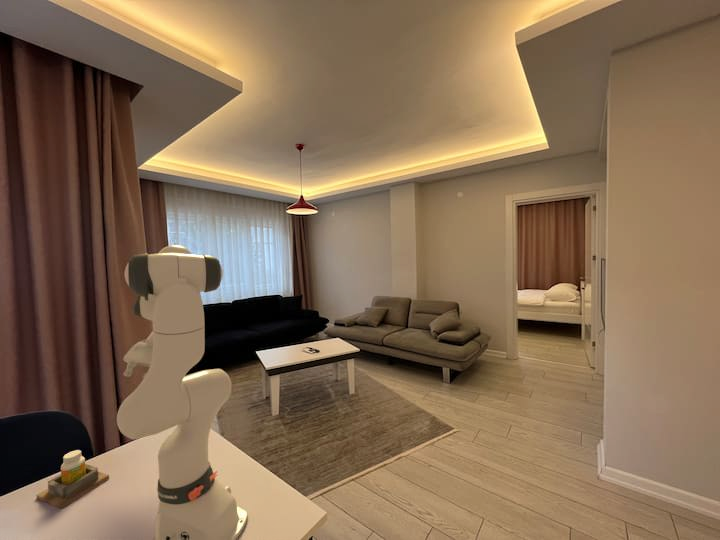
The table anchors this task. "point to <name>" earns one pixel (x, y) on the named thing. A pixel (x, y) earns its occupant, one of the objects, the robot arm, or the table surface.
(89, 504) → the table surface
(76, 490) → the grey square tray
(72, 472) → the supplement bottle
